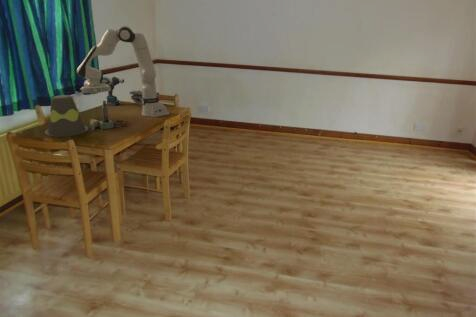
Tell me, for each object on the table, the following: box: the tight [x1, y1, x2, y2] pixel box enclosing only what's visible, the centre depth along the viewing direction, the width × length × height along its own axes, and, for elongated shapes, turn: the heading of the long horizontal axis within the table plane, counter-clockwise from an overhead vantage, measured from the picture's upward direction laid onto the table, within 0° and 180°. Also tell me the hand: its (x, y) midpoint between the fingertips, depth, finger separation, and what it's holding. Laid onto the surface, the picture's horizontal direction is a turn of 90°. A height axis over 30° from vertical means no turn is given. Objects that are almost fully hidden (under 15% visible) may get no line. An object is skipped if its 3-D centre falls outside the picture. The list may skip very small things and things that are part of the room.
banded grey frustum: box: [44, 94, 89, 138], centre depth 251 cm, size 28×28×24 cm
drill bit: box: [102, 100, 110, 123], centre depth 262 cm, size 3×3×19 cm
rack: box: [112, 119, 128, 128], centre depth 270 cm, size 8×8×3 cm
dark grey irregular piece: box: [129, 90, 160, 106], centre depth 336 cm, size 25×8×11 cm, turn 79°
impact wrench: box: [101, 76, 125, 106], centre depth 327 cm, size 8×22×25 cm, turn 78°
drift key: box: [89, 118, 100, 128], centre depth 266 cm, size 4×8×4 cm, turn 34°
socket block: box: [88, 119, 115, 131], centre depth 263 cm, size 15×8×4 cm, turn 124°
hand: (98, 90), depth 266 cm, fingers closed
